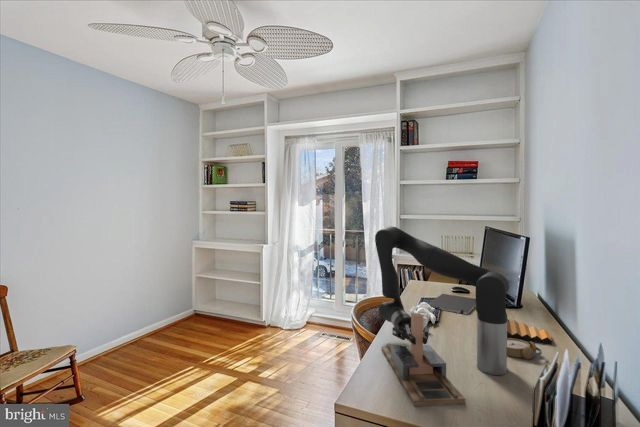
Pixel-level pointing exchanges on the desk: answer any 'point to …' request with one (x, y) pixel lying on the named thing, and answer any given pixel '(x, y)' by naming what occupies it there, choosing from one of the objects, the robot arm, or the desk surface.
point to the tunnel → (406, 360)
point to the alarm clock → (521, 348)
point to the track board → (426, 386)
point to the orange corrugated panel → (527, 333)
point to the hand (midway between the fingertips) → (420, 341)
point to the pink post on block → (418, 346)
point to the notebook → (454, 303)
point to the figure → (424, 313)
